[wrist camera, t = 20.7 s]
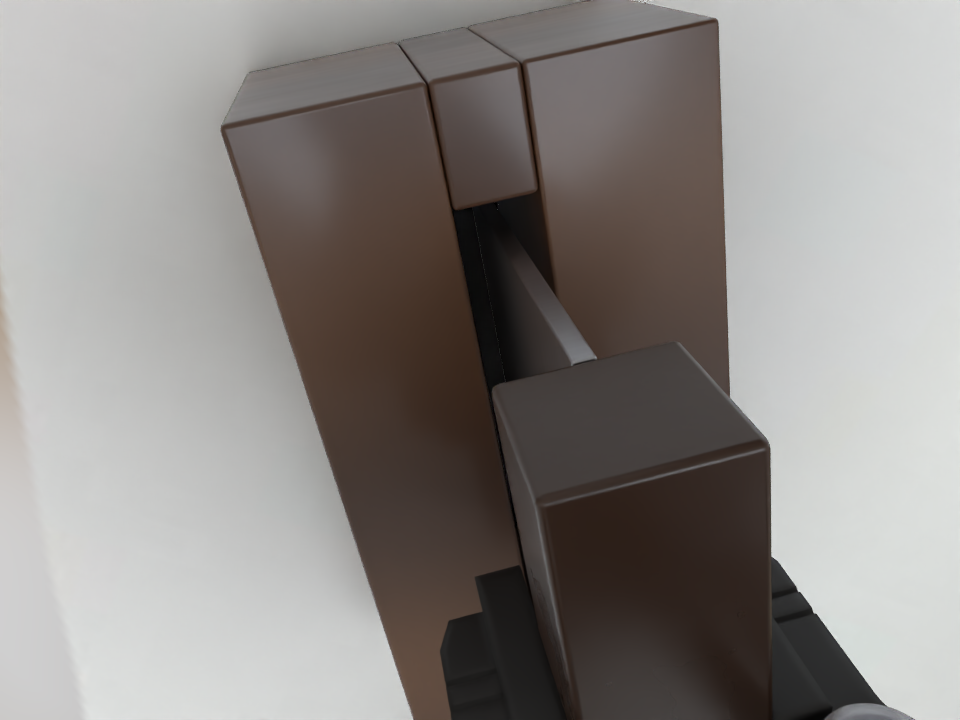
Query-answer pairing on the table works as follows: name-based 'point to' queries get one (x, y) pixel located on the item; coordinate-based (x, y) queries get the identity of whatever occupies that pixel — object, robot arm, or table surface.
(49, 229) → the table surface
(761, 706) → the bar
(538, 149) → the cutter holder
